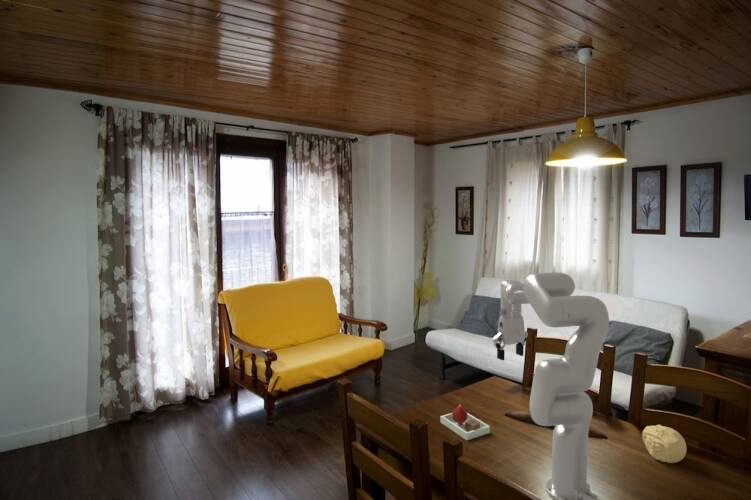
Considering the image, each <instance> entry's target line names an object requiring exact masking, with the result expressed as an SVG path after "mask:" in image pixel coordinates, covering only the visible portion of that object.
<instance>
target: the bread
mask: <svg viewBox="0 0 751 500" xmlns="http://www.w3.org/2000/svg"><path fill="white" fill-rule="evenodd" d="M504 416H506V417H509V418H511V419H515V420H519V421H522V422H525V423H526V422H527V423H531V424H535V425H538V424H537V423H535V422H534V420H533V419H532V417H531V414H530V410H529V411H527V410H526V411H525V410H515V411H509V412H508V413H507V412H505V414H504ZM555 426H556V425H553V426H545V427H547V428H551V429H554V428H555ZM589 436H590V437H595V438H600V439H601V438H602V439H608V436H607V435H606V434H604V433H602V432H601V431H599V430H598V429H597V428H595V427H593V426H591V425H589V432H588V437H589Z"/></svg>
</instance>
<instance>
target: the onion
mask: <svg viewBox="0 0 751 500" xmlns="http://www.w3.org/2000/svg"><path fill="white" fill-rule="evenodd" d="M451 413H452V417H453V419H454V421H455V422H457V423H458V424H459V425H461V424H462V423H464V422H465V421H466V420H467V417H468V416H467V413H468V412H467V410H466V408H464V407H463V406H462V404H459V405H457V406H456V407H455V408H454V409H453V411H452V412H451Z"/></svg>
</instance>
